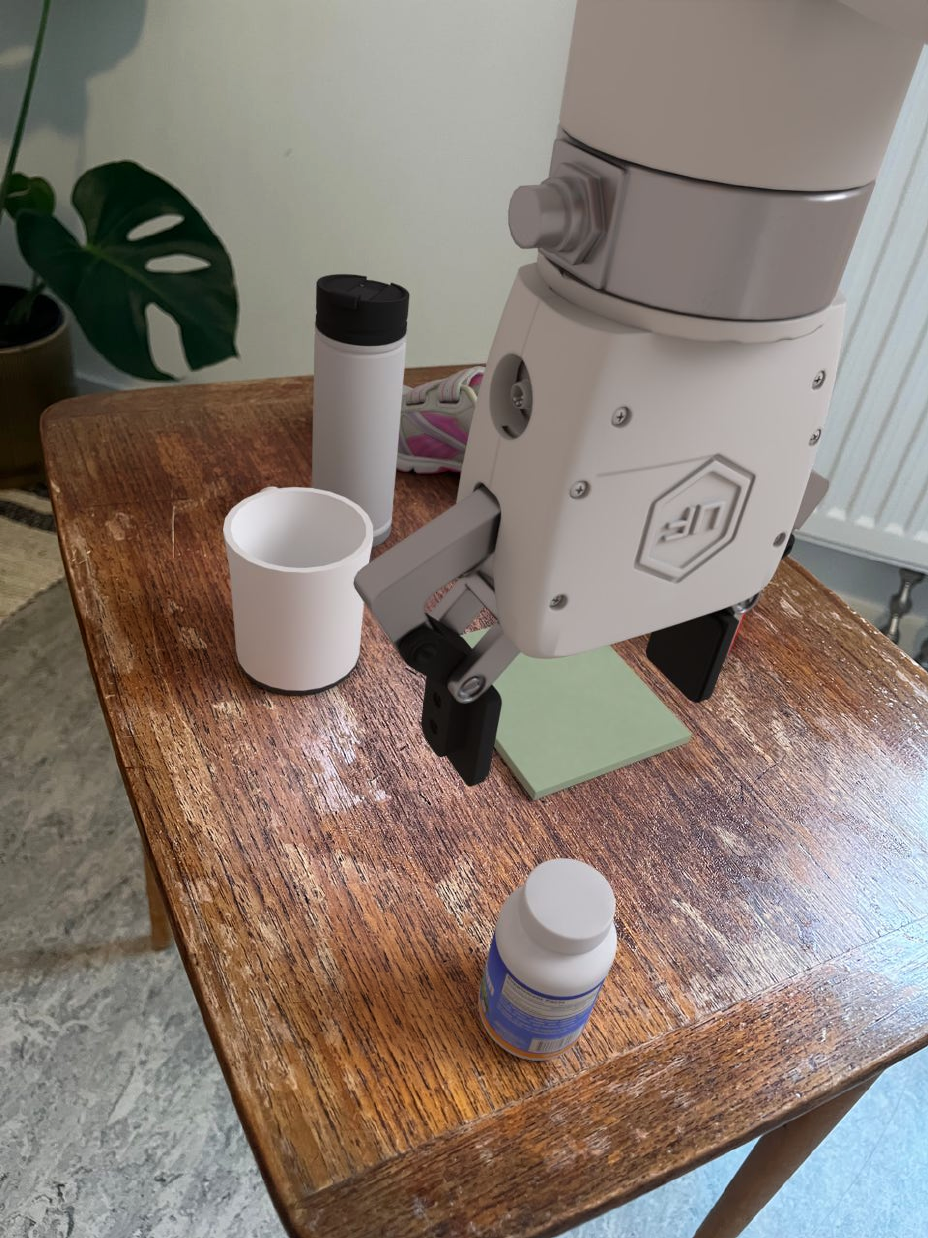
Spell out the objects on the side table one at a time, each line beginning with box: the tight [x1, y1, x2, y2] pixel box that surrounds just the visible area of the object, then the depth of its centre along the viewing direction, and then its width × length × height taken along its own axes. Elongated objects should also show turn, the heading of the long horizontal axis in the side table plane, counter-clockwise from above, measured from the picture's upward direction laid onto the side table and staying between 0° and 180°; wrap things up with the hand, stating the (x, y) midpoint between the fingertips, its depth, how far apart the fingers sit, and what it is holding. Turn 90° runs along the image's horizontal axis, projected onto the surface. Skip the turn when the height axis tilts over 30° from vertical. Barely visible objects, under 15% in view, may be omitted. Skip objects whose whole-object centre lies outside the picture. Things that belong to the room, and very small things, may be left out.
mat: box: [460, 626, 692, 801], centre depth 64 cm, size 14×12×1 cm
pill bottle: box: [477, 857, 618, 1062], centre depth 44 cm, size 5×5×10 cm
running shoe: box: [396, 365, 486, 475], centre depth 82 cm, size 9×22×10 cm, turn 64°
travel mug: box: [311, 273, 411, 549], centre depth 69 cm, size 6×7×20 cm
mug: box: [222, 486, 373, 696], centre depth 62 cm, size 11×9×10 cm
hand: (572, 714), depth 35 cm, fingers open, 9 cm apart
